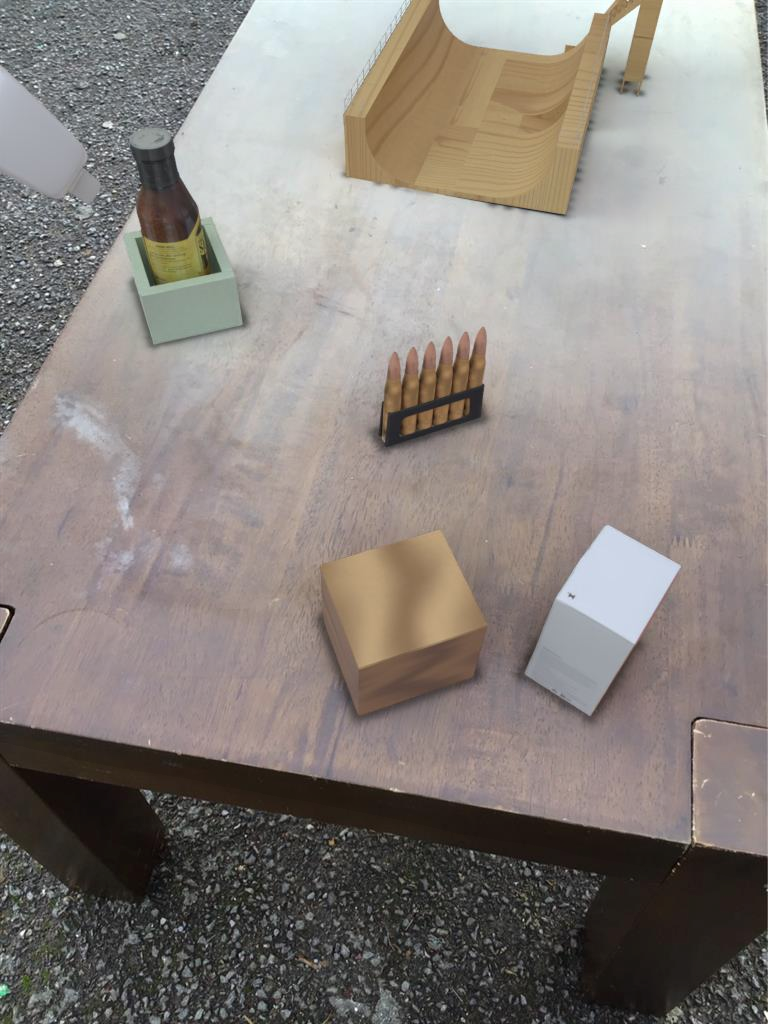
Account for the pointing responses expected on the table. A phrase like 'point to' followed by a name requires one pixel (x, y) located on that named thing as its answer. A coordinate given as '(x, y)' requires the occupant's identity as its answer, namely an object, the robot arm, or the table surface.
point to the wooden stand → (401, 621)
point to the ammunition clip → (433, 390)
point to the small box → (600, 618)
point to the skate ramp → (482, 110)
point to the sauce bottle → (167, 211)
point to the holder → (187, 292)
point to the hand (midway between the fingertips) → (55, 166)
